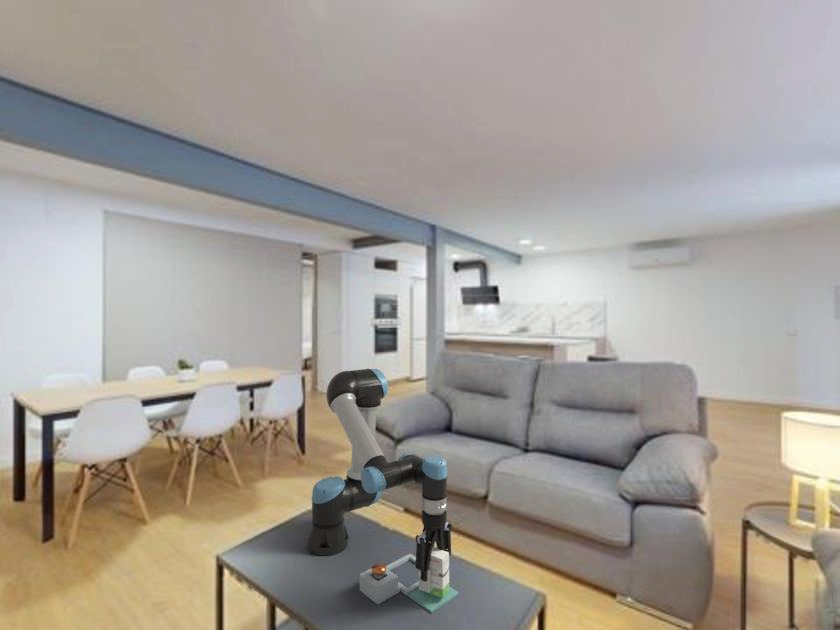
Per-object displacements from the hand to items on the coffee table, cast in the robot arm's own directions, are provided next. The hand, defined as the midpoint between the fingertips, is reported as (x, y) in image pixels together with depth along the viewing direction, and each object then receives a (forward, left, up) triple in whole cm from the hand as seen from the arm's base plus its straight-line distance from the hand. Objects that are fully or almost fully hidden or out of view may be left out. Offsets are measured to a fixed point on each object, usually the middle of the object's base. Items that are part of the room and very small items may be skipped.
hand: (433, 585), depth 131 cm
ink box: (0, 0, -2) cm, 2 cm away
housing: (-13, -3, -3) cm, 14 cm away
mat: (0, 0, -3) cm, 3 cm away
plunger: (-13, -11, -2) cm, 17 cm away
